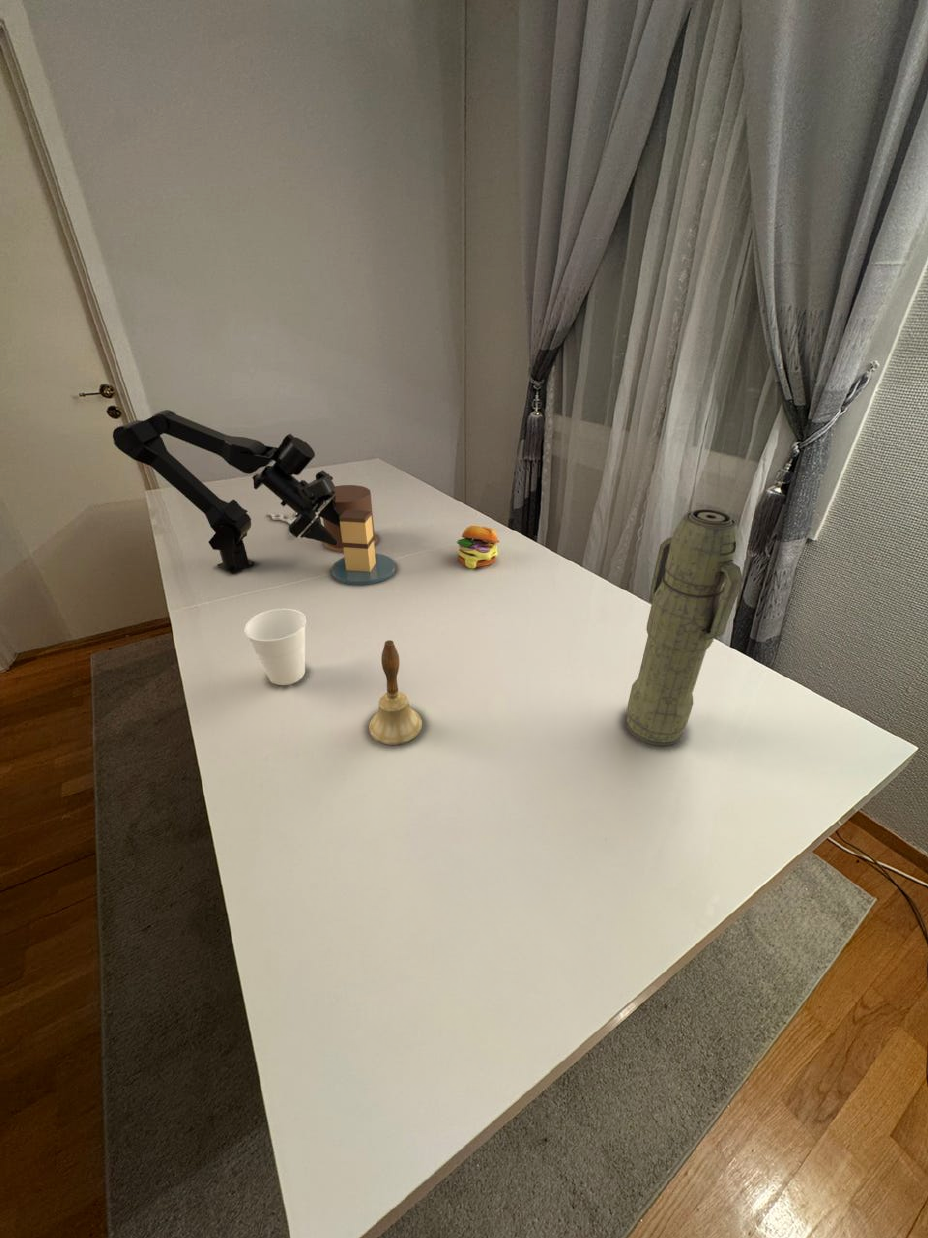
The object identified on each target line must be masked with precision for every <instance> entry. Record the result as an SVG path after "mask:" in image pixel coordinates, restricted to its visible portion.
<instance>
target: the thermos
mask: <svg viewBox="0 0 928 1238" xmlns="http://www.w3.org/2000/svg"><path fill="white" fill-rule="evenodd" d="M738 547H739V529H738V521H737V519H736V518H735V517H732V516H731V515H730V514H728V513H726V512H723V511H721V510H716V509H710V508H699V509H694V510H691V511H688V512H686V513H685V514H684V515H683V517H682V518H681V519H680V521H679V523H678V524H677V526H676V528H675V529H674V531H673V533H672V536H670V537H667V538H666V539H665V540H664V541H663V542H662V543H660V545H659V549H658V553H657V558H656V562H655V567H654V572H653V577H652V579H651V580H652V581H651V585H650V591H649V598H648V599H649V600H648V601H649V602H650V603H651V606H650V610H649V614H648V618H647V622H646V628H645V630H646V633H647V638H646V642H645V646H644V650H643V654H642V659H641V662H640V666H639V671H638V672H639V673H638V675H637V678H636V680H635V681H634V682H633V684H632V685H631V689H630V692H629V693H630V694H629V696H628V697H629V698H628V701H627V708H626V711H627V712H626V715H625V721H624V722H625V725H626V729H627V730H628V731H629V732H630V734H631V735H632V736H634V737H635V738H636V739H638V740H639V741H641V742H643V743H646V744H648V745H653V746H656V747H668V746H672V745H674V744H676V743H678V742H679V741H680V740H681V738H682V737H683V734H684V730H685V728H686V727H687V724H688V723H689V720H690V719H689V718H690V716H691V713H692V710H693V707H694V694H693V693H694V690H695V686H696V683H697V680H698V677H699V675H700V671H701V669H702V665H703V662H704V659H705V655H706V653H707V650H708V649H710V647H711V646H712V644H713V642H714V640H715V638H719V637H721V636H723V635H725V632H726V628H727V625H728V621H729V618H730V617H731V614H732V610H733V607H734V605H735V603H736V600H737V597H738V596H739V595H738V594H739V592H740V589H741V587H742V584H743V581H744V579H743V576H742V572H741V571H742V570H741V567H740V566H738V565H737V564H735V563H734V560H735V556H736V553H737V551H738Z"/></svg>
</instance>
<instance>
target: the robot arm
mask: <svg viewBox="0 0 928 1238" xmlns="http://www.w3.org/2000/svg"><path fill="white" fill-rule="evenodd" d="M164 434H165V435H168V436H170V437H173V438H174V439H175V438H176V439H178V440H180V441H183V442H185V443H188V444H189V445H193V446H195V447H198V448H199V449H202V450H204V451H208V452H210V453H212V454H215V455H217V456H219V457H220V458H222V459H223V460H224V461H225V462H226V463H227V464H228V465H229V466H231V467H232V468H234V469H236V470H238V471H240V472H241V473H243V474H247V475H248V474H249V475H251V474H253V473H255V474H253V476H252V480H253V481H252V482H253V488H254V490H258V489H259V488H260V487H261V486H264V487H265V488H267V489H268V490H269V491H271V493H273V494H274V495H275V496H276V497H277V498H279V499H280V500H281V502H280V503H279V504H280V505H281V506H282V507H285V506H287V507H289V508H290V509H291V510H292V511H293V512H294V513H295V517H294V519H295V518H296V519H295V520H294V521H293V522H292V523H291V524H289V525H288V532H289V534H290V533H291V536H293V537H294V538H296V539H297V538H298V537H300V538H301V539H303V538H305V539H309V540H314V541H317V542H321V543H328V544H331V545H336V544H337V543H338V542H337V540H336V539H335V538H334V537H333V536H332V535H331V534H330V533H329V532H328V531H327V530H326V528H325V527H324V524H323V523H322V520H323V519H325V520H327V521H329V522H331V523H333V524H335V525H337V526H338V527H340V520H339V517H340V516H341V514H340V513H339V511H338V509H337V507H336V503H335V499H336V496H334V497H333V498H332V499H331V497H332V496H333V495H334V494H335V491H334V490H332V489H333V488H335V486H336V485H335V484H334V482H333V479H334V478H333V476H332V475H330V474H329V473H327V472H326V471H325V470H320V471H318V472H317V473H316V474H315V479H313V480H312V481H310V482H308V481H306V480H304V479H301V480H300V481H299V480H298V479H297V478H296V477H295V476H298V475H300V474H301V473H302V472H303V471H304V470H305V468H306V467H307V466H308V465H309V464H310V463H311V461H312V460H313V459H314V458H315V456H316V452H315V451H314V449H313V447H312V446H311V445H310V444H309V443H308V442H307V441H304V440H302V438H299V437H295V436H293V435H292V433H288V434H287V435H285V436H284V438H283V439H282V442H281V443H280V444H279V446H278V447H277V446H270V445H266V444H264V443H263V442H261V441H260V440H257V439H252V438H248V437H245V436H235V435H234V436H232V435H227V434H225V433H223V432H220V431H218V430H215V429H213V428H210V427H208V426H206V425H203V424H201V423H199V422H196V421H193V420H191V419H189V418H186V417H184V416H182V415H179V414H177V413H176V412H174V411H172V410H168V409H164V410H161V411H159V412H156V413H154V414H152V415H151V416H150V417H149V418H147V419H144V420H142V419H141V420H140V419H137V420H133V421H130V422H127V423H125V424H122V425H119V426H117V427H115V428H114V430H113V432H112V439H113V444H114V446H115V447H116V449H118V450H119V451H120V452H122V453H123V454H125V455H126V456H127V457H129V458H131V460H134V461H136V462H139V463H141V464H144V465H145V466H149V467H150V468H151V469H153V470H154V471H156V473H158V474H159V475H160V476H161V477H162V478H164V480H165V481H167V482H168V483H169V484H170V485H171V486H173V488H175V489H176V490H177V491H178V492H179V493H180V494H182V495H183V496H184V497H185V498H186V499H187V500H188V501H189V502H191V504H193V505H194V506H195V507H196V508H197V509H198V510H200V511H201V512H202V513H203V514H204V516H205V518H206V521H207V522H208V525H209V527H210V528H211V530H213V532H214V534H213V535H212V537H211V538H210V539H209V540H208V544H209V546H210V547H211V549H212V550H213V551H219V554H220V558H221V562H220V563H217V564H216V566H217V568H219V569H222V570H223V571H225V572H227V573H230V574H236V573H238V572H241V571H242V570H245V569H247V568H250V567H252V566H254V565H255V561H253V560H251V559H249V558H248V554H247V553H248V552H247V550H246V546H245V543H244V540H243V539H245V538H246V537H247V536H248V532H249V531H250V529H251V528H252V518H251V516H250V515H249V514H248V510H247V509H245V508H243V507H242V506H241V505H240V504H239V502H237V500H235V499H231V500H230V501H225V500H223V499H221V498H220V497H218V495H216V494H215V493H214V492H213V491H212V490H211V489H210V488H208V486H207V485H205V484H204V483H203V482H202V481H201V480H200V479H199V478H198V477H196V476H195V474H193V473H192V472H191V471H190V470H189V469H188V468H187V467H186V466H184V464H182V463H181V462H180V461H179V460H178V459H177V458H176V457H175V456H173V455H172V453H170V451H168V448H167V446H166V445H165V442H164V439H163V438H162V437H161V436H162V435H164ZM272 462H274V464H273V465H270V464H271V463H272ZM261 468H263V469H262V470H261V472H260V473H256V472H257V471H258V470H260V469H261ZM293 475H294V476H293ZM296 513H297V515H296Z"/></svg>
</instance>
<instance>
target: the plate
mask: <svg viewBox="0 0 928 1238" xmlns="http://www.w3.org/2000/svg"><path fill="white" fill-rule="evenodd" d="M375 558H376V564H375V565H374V567H373V568H372V570H371V572H364V571H351V570H346V565H345V557H342V558H341V559H339V560H337V561H336V562H335V563H334V564H333V566H332V569H331V572H332V576H333V577H334V579H335V580H337V582H340V583H343V584H346V585H352V586H364V585H365V586H367V585H373V584H377V583H381V582H383V581H385V580H387V579H388V578H390V577H392V575H394V573H395V570H396V564H395V561H394V560H393V559H392V558H391V557H389V556H387V555H384V554H382V553H381V554H380V553H375Z"/></svg>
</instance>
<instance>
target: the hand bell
mask: <svg viewBox="0 0 928 1238" xmlns="http://www.w3.org/2000/svg"><path fill="white" fill-rule="evenodd" d="M380 660H381V668H382V671H383V673H384V675H385V678H386V692H385V693H384V694H382V695H381V696H380V698H379V700H378V708H377V712H376V713H375V714H374V715H373V717H372V718H371V720H370V722H369V724H368V731H369V734H370V736H371V737H372V738H373V739H374V740H375V741H377V742H378V743H381V744H383V745H391V746H395V745H402V744H406V743H408V742H410V741H412V740H413V739H415V738H416V737H417V736H418V735H419V734H420V732H421V730H422V728H423V721H422V718H421V716H420V714H419V713H418V712H417V711H415V710H414V709H412V708H411V706H410V703H409V698H408V696H407V695H406V694H405V693H403V692H401V691H399V685H398V673H399V670H400V655H399V651H398V649H397V648H396V645H395V642H394V641H393V640H386V641H384V644H383V649H382V652H381V659H380Z"/></svg>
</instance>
